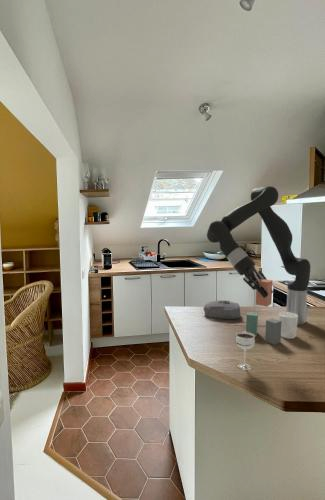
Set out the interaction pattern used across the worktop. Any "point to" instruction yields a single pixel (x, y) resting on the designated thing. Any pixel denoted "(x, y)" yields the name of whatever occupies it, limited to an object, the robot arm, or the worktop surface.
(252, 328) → the green pillar
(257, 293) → the red pillar
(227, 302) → the grey rounded bag
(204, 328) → the worktop surface
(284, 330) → the white cup
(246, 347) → the wineglass
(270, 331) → the charcoal pillar
